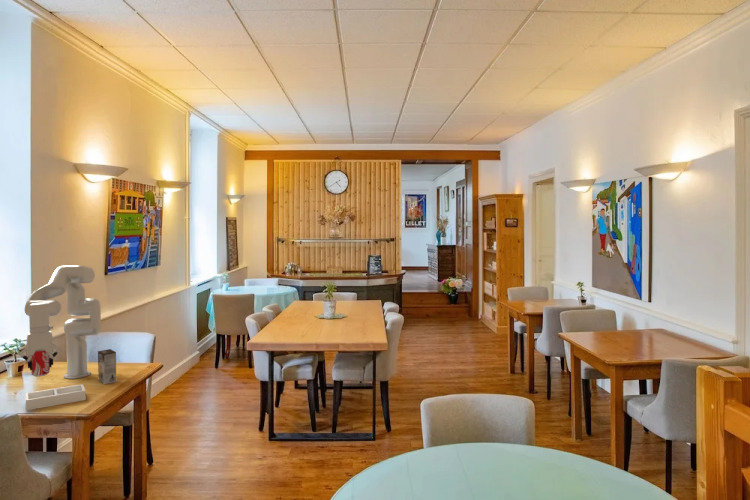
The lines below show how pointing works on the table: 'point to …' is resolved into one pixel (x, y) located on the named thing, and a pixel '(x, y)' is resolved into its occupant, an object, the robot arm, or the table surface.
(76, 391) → the divided tray
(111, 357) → the coffee box
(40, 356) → the soda can
